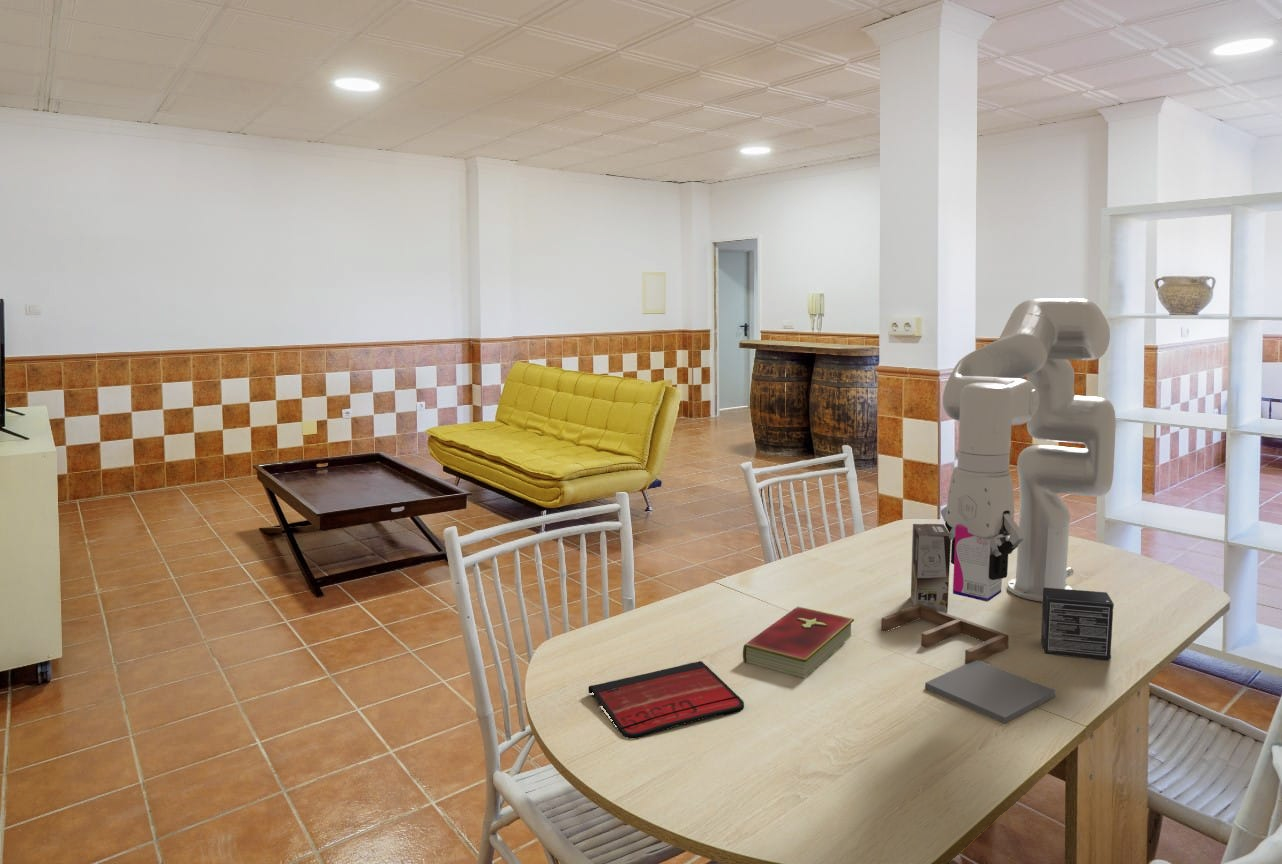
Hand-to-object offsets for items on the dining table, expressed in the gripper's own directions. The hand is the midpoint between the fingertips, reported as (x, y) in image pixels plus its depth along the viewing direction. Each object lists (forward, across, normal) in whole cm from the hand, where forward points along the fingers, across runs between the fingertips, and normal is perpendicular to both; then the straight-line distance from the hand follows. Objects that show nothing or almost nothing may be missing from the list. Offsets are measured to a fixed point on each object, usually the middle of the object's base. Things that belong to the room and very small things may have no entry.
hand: (978, 569), depth 132 cm
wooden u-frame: (+20, -16, +8) cm, 27 cm away
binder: (+20, -16, -48) cm, 54 cm away
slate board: (+20, +3, 0) cm, 20 cm away
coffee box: (+20, -30, +18) cm, 41 cm away
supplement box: (+4, 0, 0) cm, 4 cm away
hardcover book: (+20, -24, -18) cm, 36 cm away
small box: (+20, -2, +26) cm, 33 cm away
